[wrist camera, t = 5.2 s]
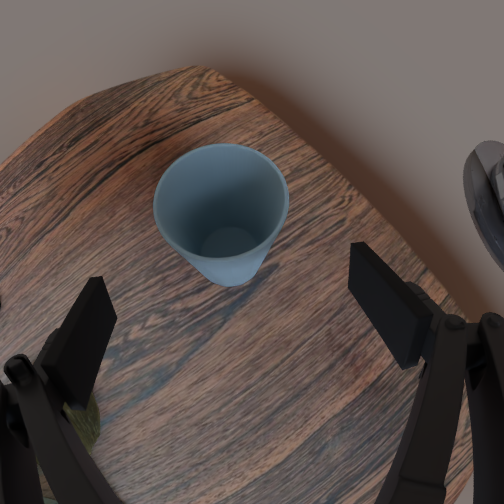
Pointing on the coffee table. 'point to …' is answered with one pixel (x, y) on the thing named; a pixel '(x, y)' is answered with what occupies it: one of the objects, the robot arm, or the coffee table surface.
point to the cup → (222, 210)
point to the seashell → (85, 423)
